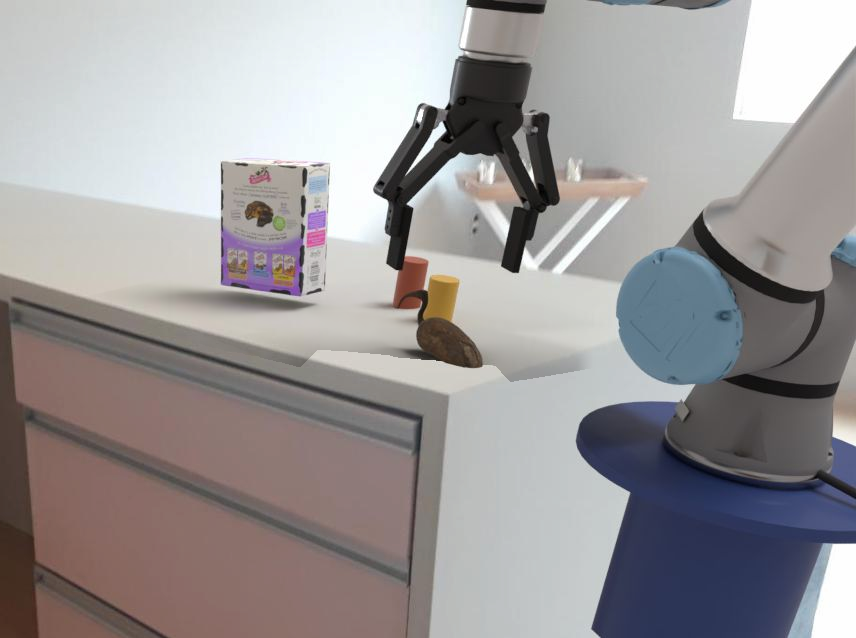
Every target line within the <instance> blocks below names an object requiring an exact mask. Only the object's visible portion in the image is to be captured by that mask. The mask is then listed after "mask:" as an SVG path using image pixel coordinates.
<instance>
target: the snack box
mask: <svg viewBox="0 0 856 638" xmlns="http://www.w3.org/2000/svg"><path fill="white" fill-rule="evenodd" d="M330 169H331V163H330V162H323V161H307V160H293V159H292V160H291V159H278V158H277V159H276V158H253V157H242V158H235V159H228V160H227V159H226V160H221V161H220V285H221V286H224V287H231V288H239V289H245V290H253V291H259V292H267V293H273V294H280V295H286V296H292V297H305V296H310V295H313V294H317V293H322V292H324V291H325V290H326V274H327V273H326V271H327V270H326V269H327V250H328V249H327V247H328V246H327V244H328V243H327V242H328V224H329V222H328V221H329V198H330V197H329V196H330V173H331V170H330Z"/></svg>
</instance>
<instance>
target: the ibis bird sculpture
mask: <svg viewBox="0 0 856 638" xmlns="http://www.w3.org/2000/svg"><path fill="white" fill-rule="evenodd" d="M407 297H416V298H418V299H421V300H422V301H421V307H420V308H419V310H418V312H417V315H416V317H417V318H416V319H417V325H418V327H417V329H416V333H415V337H416V342H417V345H418V346H419V348H420V349H422V350H423V351H425V352H426V353H427V355H428V357H429V358H430V359H433V360H436V361H440V362H443V363H444V364H448V365H451V366H455V367H459V368H467V369H479V368H482V367H483V366H484V365H483V364H484V362H483V361H484V360H483V356H482V354H481V351H480V350H479V347H477V345H476V343H475V342H474V341H473V340H472V339H471V338H470V336H468V334H466V333H465V332H464V331H463V330H462V329H461V327H459V326H457V325H456V324H455V323H453V321H452V322H450V321H448V320H446V319H443V318H439V317H433V318H428V319H426V320H424V318H423V313H424V311H425V309H426V307H427V305H428V292H427V290H426V289H424V290H418V291H414V292H410V293H408V294H406V295H404V296H403V297H402V299H401V300H400V302H399V304H398V307H397V308H396V309H397V310H400V309H399V307H400V305H401V303H402V301H403V300H404V299H405V298H407Z"/></svg>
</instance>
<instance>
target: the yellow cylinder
mask: <svg viewBox="0 0 856 638" xmlns="http://www.w3.org/2000/svg"><path fill="white" fill-rule="evenodd" d="M428 279H429V281H428V285H427V290H426V291H427V292H428V305H427V307H426V309H425V311H424V313H423V318H424V320H426V319H428V318H433V317H439V318H443V319H446V320H448V321H450V322H452V323H453V318H454V312H455V307H456V303H457V297H458V292H459V286H460V283H461V281H460V279H459V278H457V277H455V276H451V275H445V274H433V275H430V276H429V278H428Z"/></svg>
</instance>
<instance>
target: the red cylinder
mask: <svg viewBox="0 0 856 638" xmlns="http://www.w3.org/2000/svg"><path fill="white" fill-rule="evenodd" d="M429 263H430V262H429V260H428V259H426V258H423V257H419V256H411V255H410V256H409V255H408V256H407V255H405V259H404V265H403V270H397V276H396V282H395V288H394V294H393V300H392V305H391V306H392V307H393V308H395V309H397V307H398V304H399V302H400V300H401V299H402V297H403V296H404V295H406V294H408V293H410V292H414V291H418V290H425V284H426V278H427V274H428V267H429ZM421 305H422V300H421V299H418V298H416V297H407V298H405V299H404V300H403V301H402V303H401V305H400V307H399V309H398V310H416V309H420V308H421Z"/></svg>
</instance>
